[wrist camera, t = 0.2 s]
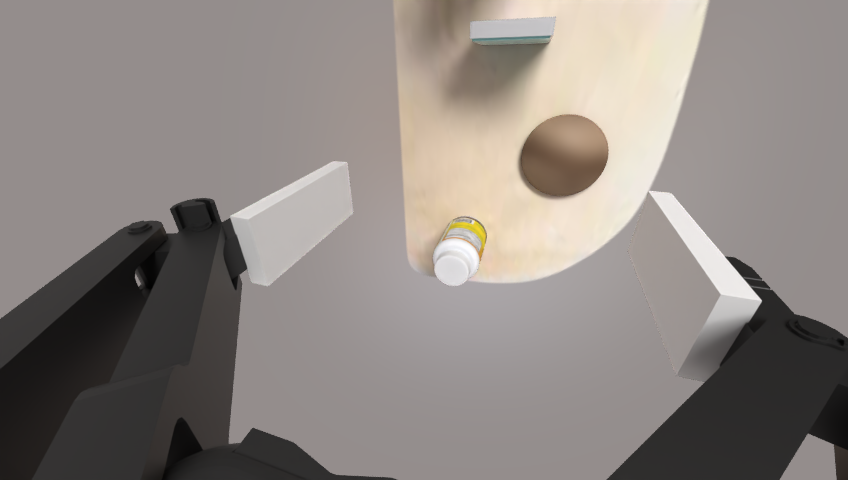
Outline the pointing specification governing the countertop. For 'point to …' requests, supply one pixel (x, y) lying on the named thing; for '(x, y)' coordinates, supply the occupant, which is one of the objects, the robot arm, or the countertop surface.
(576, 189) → the coaster
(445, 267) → the supplement bottle
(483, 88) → the countertop surface
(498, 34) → the tile
